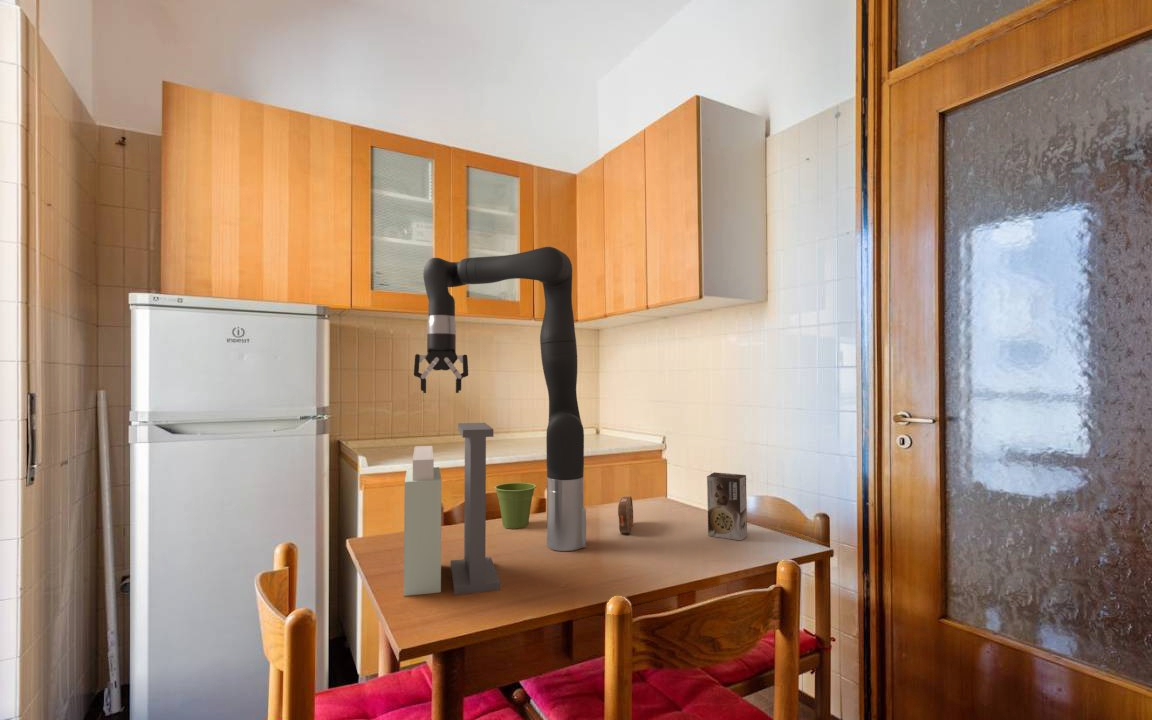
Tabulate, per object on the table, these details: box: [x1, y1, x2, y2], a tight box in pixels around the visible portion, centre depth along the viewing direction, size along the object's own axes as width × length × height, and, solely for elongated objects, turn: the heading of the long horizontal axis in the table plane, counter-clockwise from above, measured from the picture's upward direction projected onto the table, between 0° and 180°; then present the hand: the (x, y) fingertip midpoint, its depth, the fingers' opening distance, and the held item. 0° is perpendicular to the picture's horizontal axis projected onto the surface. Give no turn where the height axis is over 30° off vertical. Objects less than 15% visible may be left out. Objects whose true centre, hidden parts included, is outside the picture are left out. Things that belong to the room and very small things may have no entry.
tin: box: [617, 496, 634, 535], centre depth 153 cm, size 15×3×8 cm, turn 168°
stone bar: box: [412, 445, 435, 481], centre depth 120 cm, size 4×22×4 cm, turn 15°
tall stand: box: [450, 422, 501, 596], centre depth 116 cm, size 9×16×32 cm, turn 15°
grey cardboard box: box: [706, 472, 748, 541], centre depth 147 cm, size 9×6×16 cm
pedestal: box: [403, 466, 443, 597], centre depth 115 cm, size 7×16×22 cm, turn 15°
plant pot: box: [494, 482, 537, 530], centre depth 156 cm, size 12×12×11 cm
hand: (441, 392), depth 148 cm, fingers open, 8 cm apart
